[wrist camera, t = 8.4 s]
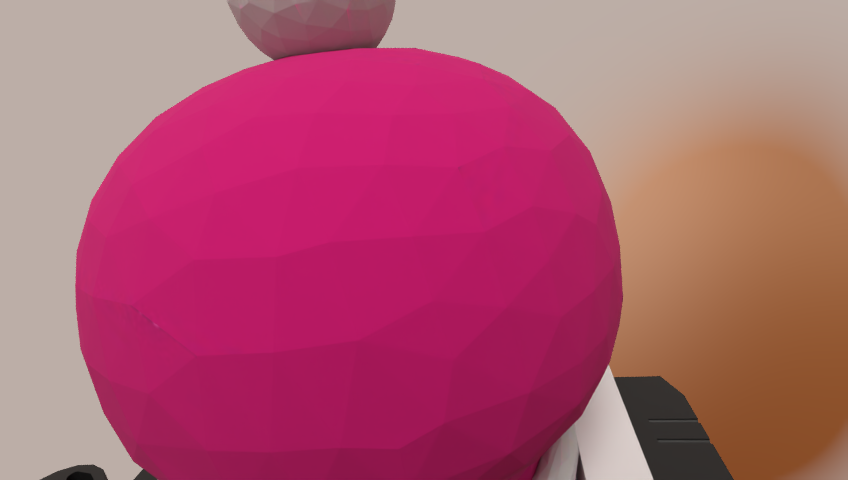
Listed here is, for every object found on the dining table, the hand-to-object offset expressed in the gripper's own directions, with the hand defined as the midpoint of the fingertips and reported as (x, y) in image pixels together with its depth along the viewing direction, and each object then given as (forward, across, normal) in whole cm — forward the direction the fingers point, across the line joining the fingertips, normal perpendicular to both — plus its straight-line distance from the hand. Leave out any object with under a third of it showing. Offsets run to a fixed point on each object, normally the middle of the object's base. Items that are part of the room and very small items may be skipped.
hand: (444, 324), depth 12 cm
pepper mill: (-5, 0, -12) cm, 13 cm away
